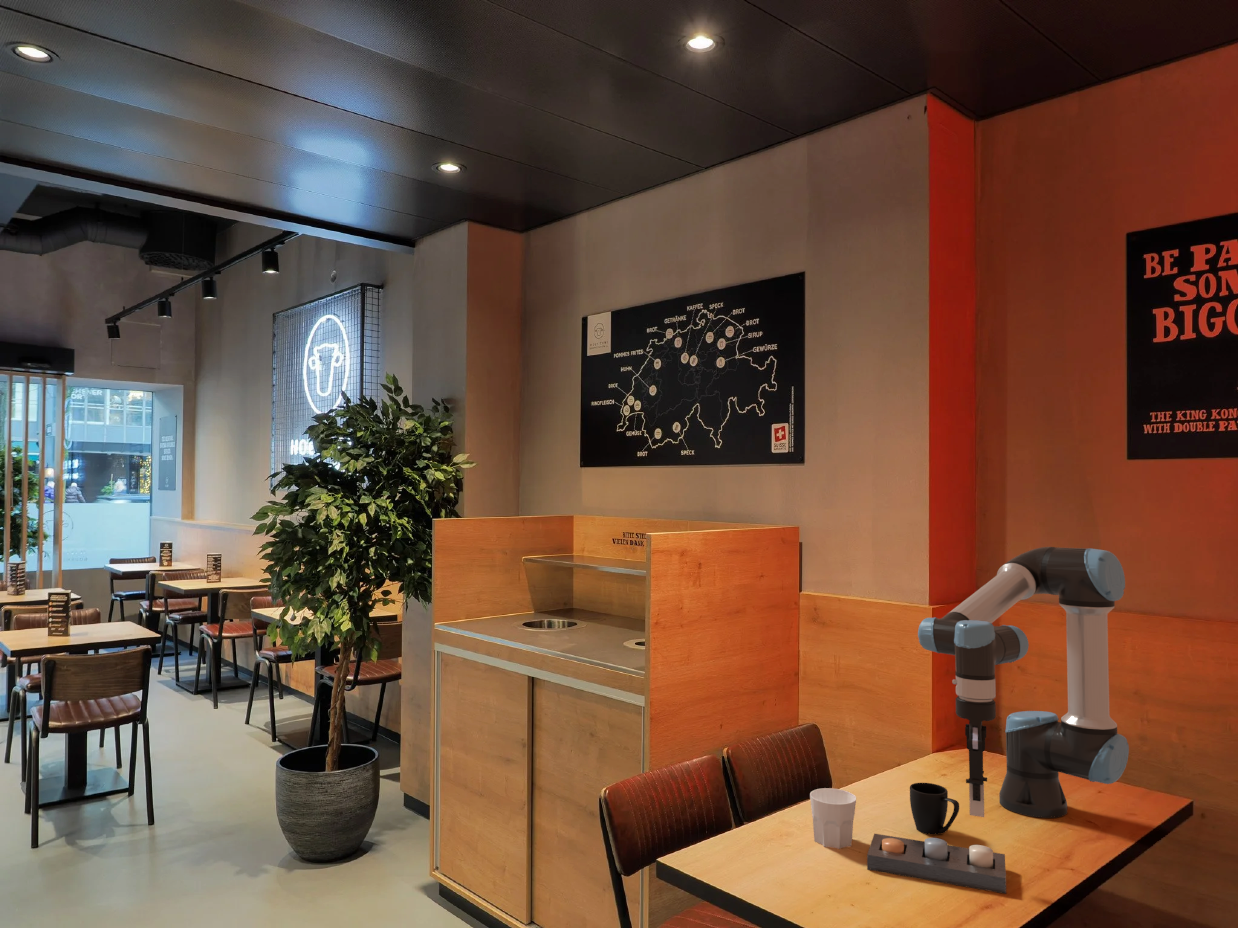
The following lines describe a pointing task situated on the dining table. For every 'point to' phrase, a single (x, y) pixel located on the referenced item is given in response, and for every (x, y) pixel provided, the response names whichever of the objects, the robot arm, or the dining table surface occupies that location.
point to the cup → (833, 816)
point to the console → (937, 865)
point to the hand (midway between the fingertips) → (977, 814)
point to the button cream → (981, 856)
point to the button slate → (936, 849)
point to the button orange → (893, 845)
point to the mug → (931, 808)
